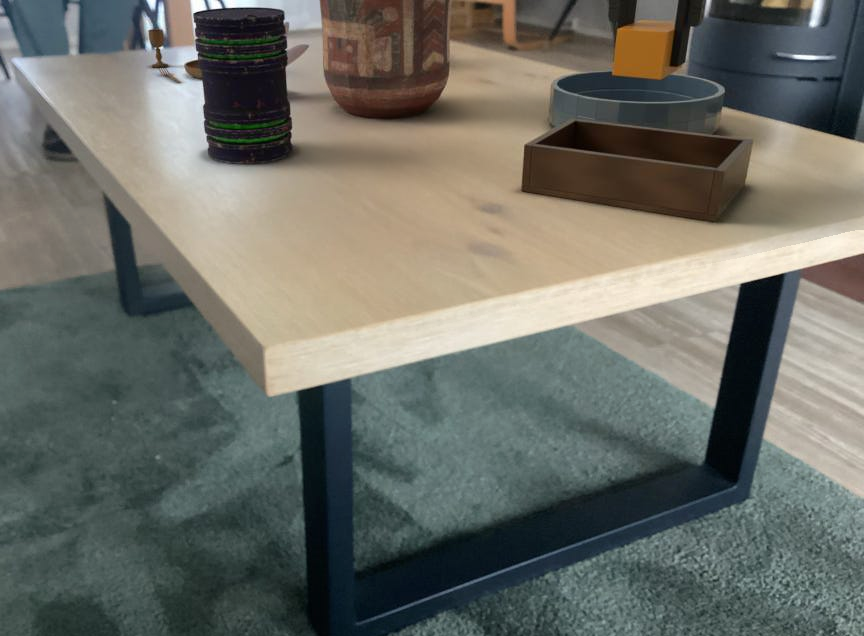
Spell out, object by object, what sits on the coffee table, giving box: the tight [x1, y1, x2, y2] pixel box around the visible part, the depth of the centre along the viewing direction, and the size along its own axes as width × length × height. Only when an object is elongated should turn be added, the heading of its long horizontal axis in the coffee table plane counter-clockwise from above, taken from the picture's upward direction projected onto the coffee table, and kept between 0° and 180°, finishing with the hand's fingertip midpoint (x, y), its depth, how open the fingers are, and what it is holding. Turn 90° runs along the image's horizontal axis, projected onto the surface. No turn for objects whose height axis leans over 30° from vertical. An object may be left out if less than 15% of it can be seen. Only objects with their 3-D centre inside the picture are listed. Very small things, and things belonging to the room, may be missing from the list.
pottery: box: [319, 0, 453, 119], centre depth 114 cm, size 18×18×18 cm
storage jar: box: [192, 6, 294, 165], centre depth 95 cm, size 10×10×15 cm
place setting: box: [148, 28, 202, 83], centre depth 144 cm, size 18×20×6 cm
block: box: [612, 19, 683, 80], centre depth 79 cm, size 4×7×4 cm, turn 148°
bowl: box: [547, 69, 726, 135], centre depth 107 cm, size 20×20×5 cm
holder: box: [520, 118, 754, 223], centre depth 84 cm, size 19×13×5 cm
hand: (648, 61), depth 80 cm, fingers closed on block, 4 cm apart
